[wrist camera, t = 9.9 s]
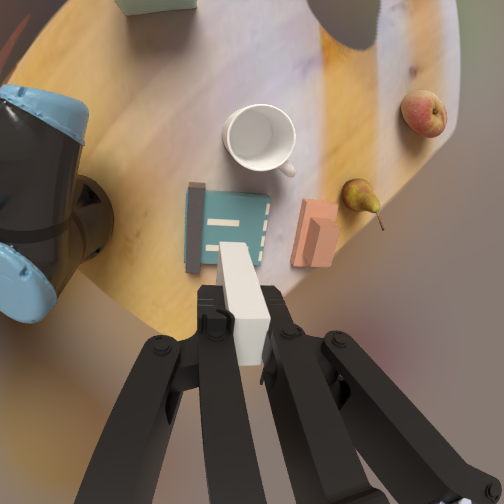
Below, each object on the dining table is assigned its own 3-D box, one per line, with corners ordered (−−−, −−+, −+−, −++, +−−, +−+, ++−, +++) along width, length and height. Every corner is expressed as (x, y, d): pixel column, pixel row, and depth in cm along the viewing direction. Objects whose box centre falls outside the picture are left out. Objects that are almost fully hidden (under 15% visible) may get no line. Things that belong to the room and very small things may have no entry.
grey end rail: (186, 263, 47) (185, 272, 44) (189, 182, 41) (188, 187, 38) (200, 263, 48) (199, 273, 45) (204, 183, 41) (204, 187, 39)
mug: (300, 152, 41) (326, 163, 32) (263, 186, 43) (279, 205, 34) (250, 97, 36) (264, 90, 27) (210, 133, 38) (211, 137, 29)
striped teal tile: (184, 257, 47) (184, 263, 45) (187, 189, 41) (186, 192, 39) (258, 259, 49) (260, 265, 47) (267, 194, 44) (270, 198, 42)
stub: (290, 260, 50) (301, 279, 45) (302, 198, 45) (316, 210, 40) (319, 261, 52) (332, 279, 46) (333, 202, 46) (350, 214, 41)
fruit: (368, 190, 46) (408, 212, 36) (347, 211, 48) (383, 238, 37) (353, 168, 44) (393, 186, 33) (330, 189, 45) (366, 213, 35)
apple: (415, 141, 43) (443, 148, 36) (386, 115, 40) (415, 118, 33) (430, 108, 40) (458, 112, 33) (403, 80, 37) (431, 80, 30)
